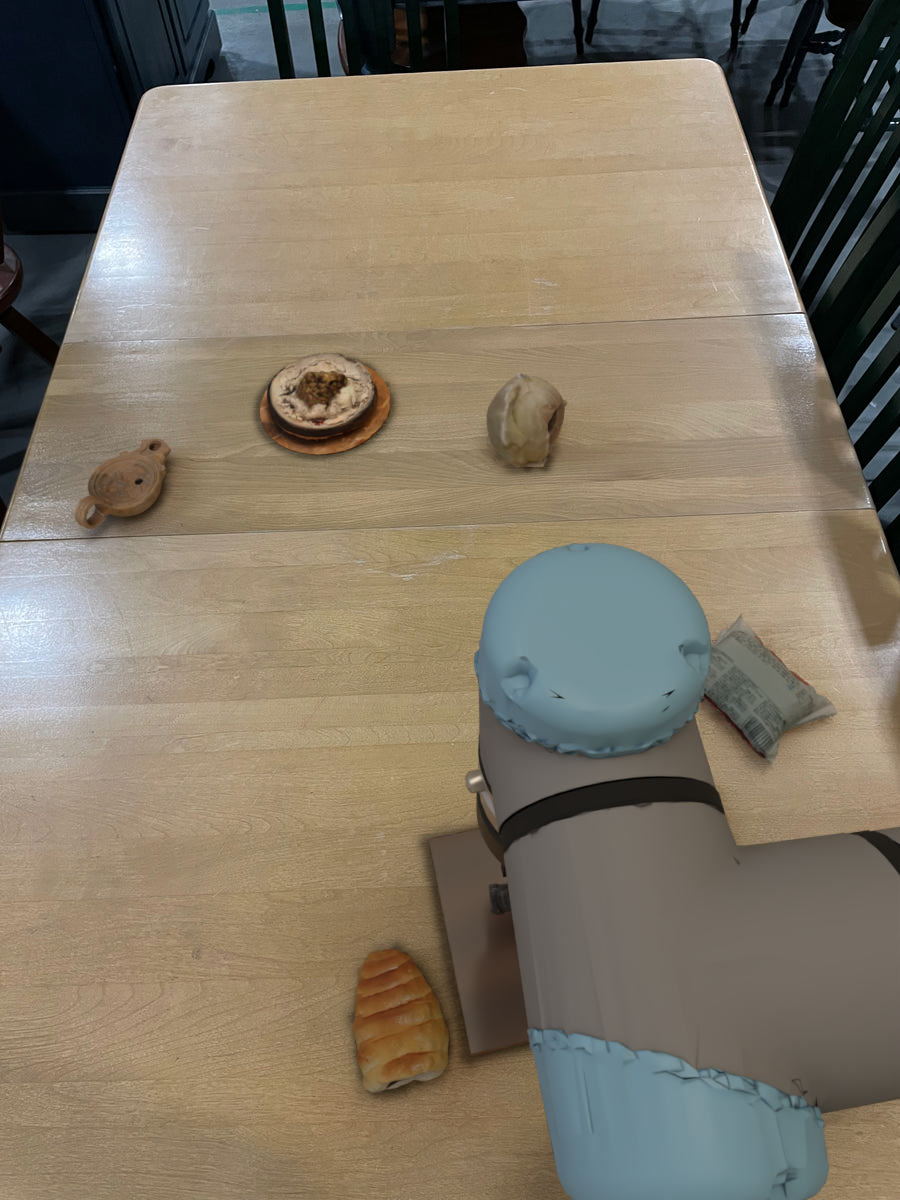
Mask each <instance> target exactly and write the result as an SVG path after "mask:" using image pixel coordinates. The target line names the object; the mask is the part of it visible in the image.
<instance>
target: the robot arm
mask: <svg viewBox="0 0 900 1200" xmlns="http://www.w3.org/2000/svg"><path fill="white" fill-rule="evenodd" d="M478 641H479V642H478V649H477V650H476V652H474V655H473V656H474V657H473V667H474V671H475V676H476V677H477V684H478V686H477V687H478V743H477V744H478V746H477V754H478V755H477V756H478V761H477V762H478V763H477V768H476V769H472V770H469V771H467V772H466V774H465V776H464V779H465V787H466V789H467V790H468V792H469V793H471V794H475V796H476V797H475V800H476V801H475V810H476V811H475V812H476V819H477V820H476V821H477V825H478V829H480V832H481V834H482V837H483V839H484V841H485V843H486V845H487V847H488V848H489V850H490V851H491V853H492V854H493V855H494V856H495V857H496V859H497V860H498V861H499V862H500V863H501V870H502V874H503V877H507V882H508V889H509V896H510V903H511V910H512V917H513V924H514V931H515V938H516V945H517V952H518V959H519V966H520V973H521V980H522V987H523V994H524V1001H525V1008H526V1015H527V1022H528V1030H527V1033H528V1036H529V1042H528V1043H529V1050H530V1051H531V1053H532V1054H533V1059H534V1064H535V1068H536V1069H535V1070H536V1074H537V1078H538V1083H539V1088H540V1094H541V1098H542V1099H541V1100H542V1103H543V1108H544V1109H543V1110H544V1114H545V1119H546V1124H547V1129H548V1134H549V1140H550V1143H551V1144H550V1145H551V1149H552V1154H553V1160H554V1164H555V1165H554V1166H555V1171H556V1174H557V1177H558V1180H559V1182H560V1184H561V1187H562V1189H563V1191H564V1193H565V1194H566V1195H567V1196H569V1198H570V1199H571V1200H810V1199H811V1198H814V1197H816V1195H818V1194H819V1193H820V1192H821V1191H822V1189H823V1188H824V1186H825V1184H826V1183H827V1181H828V1176H829V1171H830V1164H829V1157H828V1151H827V1143H826V1135H825V1128H826V1127H825V1125H826V1124H825V1120H824V1117H823V1114H824V1115H825V1114H829V1113H834V1112H838V1111H844V1110H849V1109H854V1108H860V1107H865V1106H871V1105H875V1104H880V1103H886V1102H891V1101H896V1100H900V826H895V827H888V828H881V829H873V830H869V829H867V830H860V831H851V832H837V833H831V834H823V835H816V836H810V837H809V836H808V837H800V838H795V839H786V840H778V841H770V842H762V843H755V844H748V845H741V844H740V845H739V844H738V845H737V842H736V840H735V837H734V834H733V831H732V829H731V827H730V823H729V822H728V819H727V816H726V813H725V808H724V806H723V802H722V798H721V795H720V792H719V791H718V790H717V787H716V784H715V780H714V776H713V774H712V769H711V767H710V763H709V760H708V756H707V754H706V750H705V747H704V742H703V739H702V736H701V732H700V729H699V727H698V723H697V719H696V714H697V713H698V712H699V705H700V703H701V702H702V700H703V699H704V692H705V691H706V689H707V688H706V684H705V682H706V677H707V673H708V669H709V664H710V659H711V646H712V638H711V631H710V626H709V622H708V619H707V616H706V614H705V611H704V609H703V607H702V605H701V603H700V601H699V600H698V598H697V597H696V596H695V594H694V593H693V591H692V590H691V589H690V587H689V586H688V585H687V584H686V583H685V582H684V581H683V579H682V578H680V576H678V575H677V573H675V572H674V571H673V570H671V569H670V568H669V567H668V566H666V565H665V564H663V563H661V562H660V561H658V560H657V559H655V558H653V557H652V556H649V555H647V554H645V553H643V552H640V551H638V550H636V549H632V548H630V547H625V546H622V545H618V544H612V543H606V542H605V543H604V542H586V543H577V542H573V543H570V544H566V545H561V546H555V547H551V548H549V549H547V550H544V551H541V552H539V553H536V554H535V555H533V556H532V557H530V558H528V559H526V560H525V561H523V562H521V563H520V564H519V565H518V566H516V567H515V568H514V569H513V570H511V571H510V572H509V573H508V575H507V576H505V578H504V579H503V580H502V581H501V582H500V584H499V585H498V586H497V587H496V589H495V590H494V592H493V594H492V595H491V598H490V599H489V602H488V604H487V607H486V610H485V613H484V617H483V622H482V628H481V635H480V639H479V640H478Z"/></svg>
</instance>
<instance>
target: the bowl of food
mask: <svg viewBox="0 0 900 1200" xmlns="http://www.w3.org/2000/svg"><path fill="white" fill-rule="evenodd" d="M344 354H345V353H344V352H341V353H339V352H326V353H325V352H323V353H315V354H311V355H307V356H305V357H302V358H300V359H298V360H295V361H293V362H291V364H288V365H285V367H283V368H282V369H280V370H279V372H277V373H276V374H275V375H273V377H272V379H271V380H270V382H269V384H268V386H267V389H266V390H265V392H264V394H263V397H262V399H261V402H260V408H259V416H260V421H261V424H262V427H263V429H264V431H265V433H266V434H267V435H268V436H269V437H270V438H271V439H272V440H273V441H274V442H275V443H277V444H278V445H280V446H282V447H284V448H286V449H288V450H290V451H293V452H297V453H302V454H307V455H316V456H317V455H327V454H328V455H329V454H337V453H340V452H346V451H348V450H350V449H353V448H355V447H357V446H360V445H361V444H364V443H365V442H366V441H367V440H369V439H370V438H371V437H372V436H373V435H374V434H375V433H376V432H377V431H378V430H379V429H380V428H381V427H382V426H383V424H384V422H385V421H386V420H387V418H388V415H389V413H390V409H391V393H390V390H389V387H388V385H387V384H386V382H385V380H384V379H383V377H381V375H380V374H378V373H377V371H375V370H373V369H372V368H370V367H368V366H367V365H365V364H363V363H361V362H360V361H359V360H358V359H353V358H350V357H349V356H347V357H345V355H344Z"/></svg>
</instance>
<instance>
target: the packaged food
mask: <svg viewBox="0 0 900 1200" xmlns="http://www.w3.org/2000/svg"><path fill="white" fill-rule="evenodd" d="M705 684H706V688H707V689H706V691H705V692H704V697H703V699H705V700H706V701H707V702H708V703H709V704H710V705H711V706H712V707H713V708H714V709H715V710H717V711H718V712H720V714H721V716H722V717H723V719H724V720H725V721H726V722H727V723H728V724H730V726H731V727H732V728H733V729H734V730H735V732H737V734H738V735H739V736H740V738H741V739H742V740H743V741H744V742H745V743H746V744H747V745H748V746H749V748H750V749H752V751H753V752H754V753H755V754H756V755H758V757H760V758H762V759H763V760H764V761H766V762H768V763H769V764H771V765H773V763H774V761H775V760H776V757H777V756H778V751H779V750H778V749H779V747H780V741H781V739H782V736H783V733H786V732H788V731H790V730H792V729H795V728H798V727H801V726H805V725H808V724H811V723H813V722H816V721H819V720H821V719H824V718H826V719H829V718H830V717H836V716H837V715H838V710H837V708H836V707H835V705H834V704H833V703H832V701H831V700H830V699H828V697H827V696H825V695H822V694H819V693H818V692H817V690H816V689H815V688H814V686H813V685H811V684H810V683H809V682H807V681H805V679H803V678H802V677H801V676H800V675H799V674H797V673H796V672H794V671H793V670H790V669H789V668H787V666H786V664H785V663H784V662H783V660H782V659H781V658H780V657H779V656H778V655H777V654H776V653H775V651H774V650H772V649H769V648H768V647H767V646H765V645H764V642H763V640H762V639H761V638H760V637H759V636H758V635H757V633H756V632H755V631H754V630H753V629H752V627H751V626H750V625H749V624H748V623H747V622H746V621H745V619H744V618H743V613H740V614H739V615H738V617H737V619H736V620H735V621H734V622H732V624H731V626H730V627H729V628H728V629H727V628H723V629H722V630H720V632H719V634H718V636H717V638H716V640H715V641H714V642H713V643H712V644H711V659H710V664H709V669H708V673H707V677H706V682H705Z"/></svg>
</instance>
